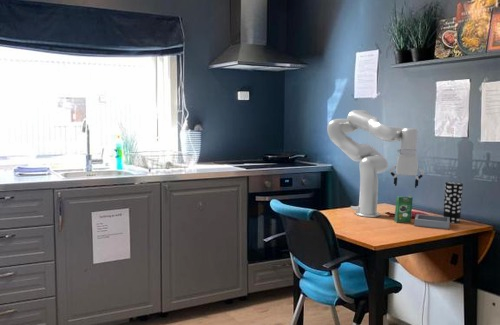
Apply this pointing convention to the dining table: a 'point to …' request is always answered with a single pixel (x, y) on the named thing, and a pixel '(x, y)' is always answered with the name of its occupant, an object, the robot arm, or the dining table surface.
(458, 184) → the white-spotted black cylinder
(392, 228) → the dining table surface
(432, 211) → the dining table surface
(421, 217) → the tray
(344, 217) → the dining table surface
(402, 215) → the coffee box
